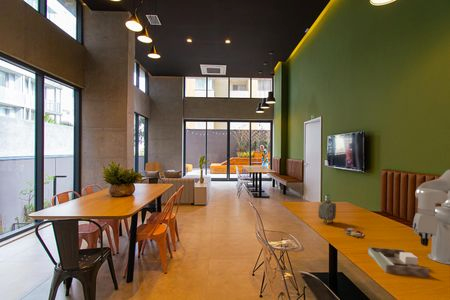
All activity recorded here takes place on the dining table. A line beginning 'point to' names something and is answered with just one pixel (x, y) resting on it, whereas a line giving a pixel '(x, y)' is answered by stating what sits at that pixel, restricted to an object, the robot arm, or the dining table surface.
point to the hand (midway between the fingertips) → (424, 245)
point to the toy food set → (354, 232)
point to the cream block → (408, 258)
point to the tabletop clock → (327, 210)
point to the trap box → (395, 262)
